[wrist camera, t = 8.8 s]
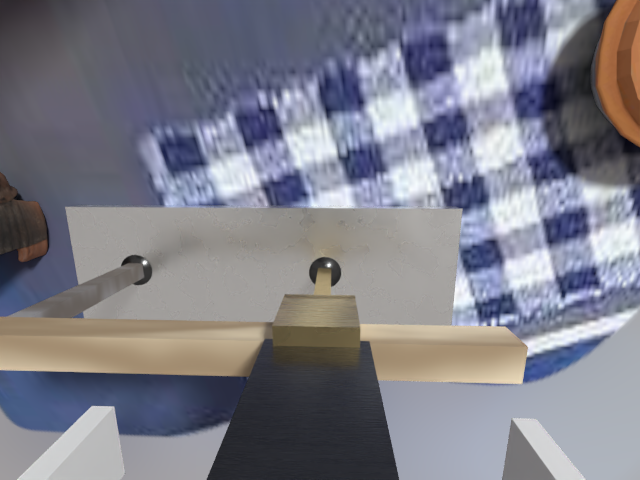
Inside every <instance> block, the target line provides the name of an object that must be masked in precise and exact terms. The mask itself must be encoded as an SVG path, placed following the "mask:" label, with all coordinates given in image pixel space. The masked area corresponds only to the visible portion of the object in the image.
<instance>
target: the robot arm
mask: <svg viewBox="0 0 640 480" xmlns="http://www.w3.org/2000/svg"><path fill="white" fill-rule="evenodd" d="M124 474H125V469H124V463H123V457H122V451H121V445H120V439H119V433H118V427H117V421H116V415H115V409H114V407H110V406H92V407H91V408H89V409H88V410H87V411H86V412H85V413H84V414H83V415H82V416H81V417H80V418H79V419H78V420H77V421H76V422H75V423H74V424H73V425H72V426H71V427H70V428H69V429H68V430H67V431H66V432H65V433H64V434H63V435H62V436H61V437H60V438H59V439H58V440H57V441H56V442H55V443H54V444H53V445H52V446H51V447H50V448H49V449H48V450H47V451H46V452H45V453H44V454H43V455H42V456H41V457H40V458H39V459H38V460H37V461H35V462H34V463H33V464H32V465H31V466H30V467H29V468H28V469H27V470H26V471H25V472H24V473H23V474H22V475H21V476H20V477H19V478H18V479H17V480H121V478H122V477H123V475H124ZM502 480H585V478H584V477H583V476H582V475H581V473H580V472H579V471H578V470H577V469H576V467H575V466H574V465H573V464H572V462H570V460H569V459H568V457H567V456H566V455H565V454H564V453H563V451H562V450H561V449H560V448H559V446H558V445H557V444H556V443H555V442H554V440H553V439H552V438H551V437H550V435H549V434H548V433H547V432H546V431H545V429H544V428H543V427H542V426H541V425H540V423H539V422H538V421H537V420H536V419H515V418H512V420H511V426H510V433H509V439H508V445H507V452H506V458H505V465H504V471H503V477H502Z"/></svg>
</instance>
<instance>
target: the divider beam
mask: <svg viewBox="0 0 640 480" xmlns="http://www.w3.org/2000/svg"><path fill="white" fill-rule="evenodd" d="M142 278H144V271H143V263H127V264H125V265H123V266H121V267H118V268H116V269H114V270H112V271H109V272H107V273H105V274H103V275H100V276H98V277H96V278H94V279H91V280H89V281H87V282H84V283H82V284H80V285H78V286H75V287H73V288H71V289H69V290H66V291H64V292H62V293H60V294H57V295H55V296H53V297H50V298H48V299H46V300H44V301H41V302H39V303H37V304H35V305H32V306H30V307H28V308H26V309H23V310H21V311H19V312H16V313H14V314H12V315H10V316H7V317H0V370H20V371H57V372H94V373H131V374H169V375H206V376H243V377H249V376H250V373H251V371H252V369H253V366H254V364H255V361H256V359H257V356H258V354H259V352H260V349H261V347H262V344H263V342H264V340H265V339H273V337H272V325H273V322H238V321H187V320H137V319H86V318H72V317H74V316H76V315H77V314H79V313H81V312H83V311H85V310H86V309H88V308H90V307H92V306H94V305H96V304H97V303H99V302H101V301H103V300H105V299H106V298H108V297H110V296H112V295H114V294H115V293H117V292H119V291H121V290H123V289H124V288H126V287H128V286H130V285H132V284H133V283H135V282H137V281H139V280H141V279H142ZM360 341H370V346H371V351H372V355H373V360H374V365H375V369H376V374H377V379H378V380H393V381H429V382H430V381H431V382H466V383H503V384H522V382H523V375H524V369H525V362H526V356H527V349H528V347H527V346H526V345H525V344H524V343H523V342H522V341H521V340H520V339H518V338H517V337H516V336H515V335H514V334H513V333H512V332H511V331H510V330H508V329H507V328H506V327H493V326H442V325H391V324H360Z"/></svg>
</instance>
